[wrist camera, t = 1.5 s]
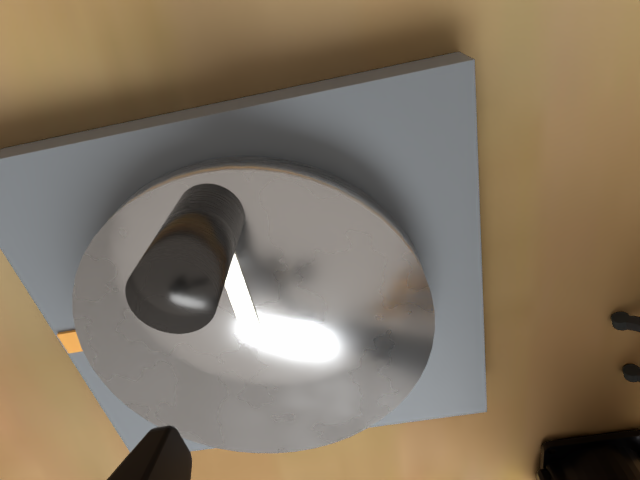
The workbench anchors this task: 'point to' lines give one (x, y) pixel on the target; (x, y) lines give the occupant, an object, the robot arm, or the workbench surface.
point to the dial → (254, 306)
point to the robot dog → (631, 323)
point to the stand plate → (294, 145)
